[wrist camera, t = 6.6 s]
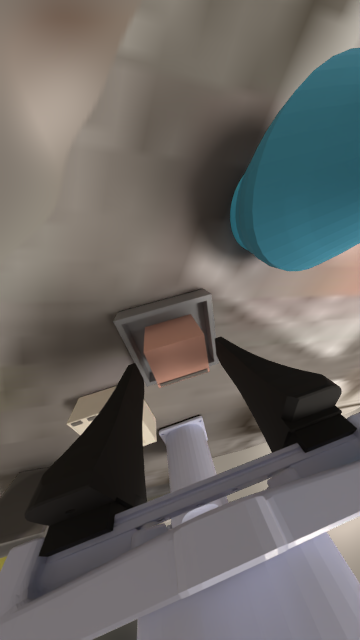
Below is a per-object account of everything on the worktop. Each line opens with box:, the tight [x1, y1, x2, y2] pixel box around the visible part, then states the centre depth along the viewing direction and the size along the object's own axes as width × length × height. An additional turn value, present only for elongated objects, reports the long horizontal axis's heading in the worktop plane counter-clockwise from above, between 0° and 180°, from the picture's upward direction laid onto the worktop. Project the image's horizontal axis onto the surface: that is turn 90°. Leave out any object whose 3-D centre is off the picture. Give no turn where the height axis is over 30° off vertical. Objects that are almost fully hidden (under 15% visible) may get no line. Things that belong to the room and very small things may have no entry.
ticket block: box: [67, 386, 157, 446], centre depth 19 cm, size 10×7×3 cm
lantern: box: [0, 467, 50, 571], centre depth 25 cm, size 8×17×30 cm
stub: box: [144, 314, 210, 388], centre depth 14 cm, size 4×5×4 cm
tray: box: [113, 289, 219, 386], centre depth 15 cm, size 9×9×2 cm
